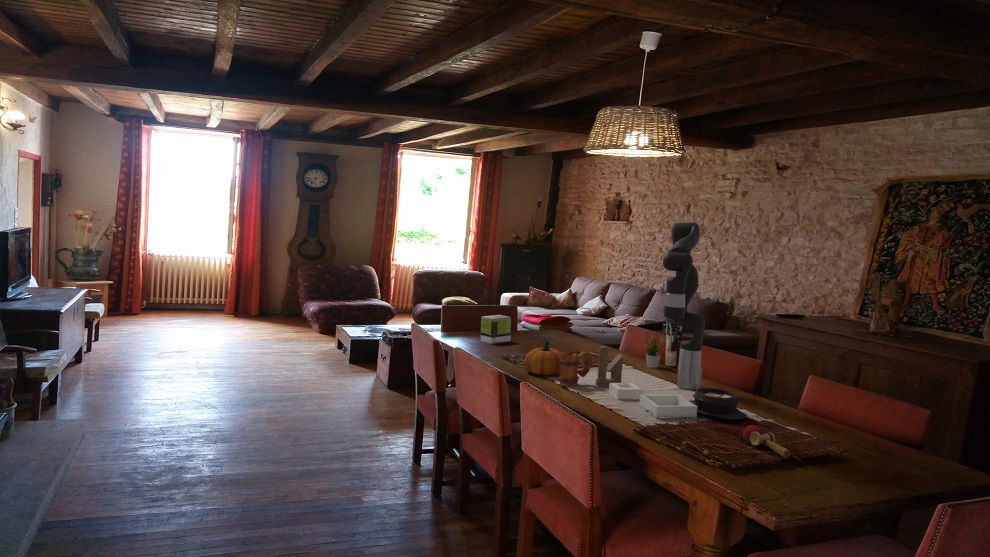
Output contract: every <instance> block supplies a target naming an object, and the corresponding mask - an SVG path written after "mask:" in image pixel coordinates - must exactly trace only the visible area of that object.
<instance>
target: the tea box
mask: <svg viewBox="0 0 990 557" xmlns="http://www.w3.org/2000/svg"><path fill="white" fill-rule="evenodd" d="M511 326H512V317H511V316H509V315H507V316H506V315H502V314H496V315H495V314H494V315H487V316H486V315H484V316H481V317H480V342H483V343H486V344H489V345H491V344H492V345H493V344H498V343H507V342H511V337H512V336H511V335H512V334H511V331H512V329H511V328H512V327H511Z"/></svg>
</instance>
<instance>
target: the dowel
mask: <svg viewBox="0 0 990 557" xmlns="http://www.w3.org/2000/svg"><path fill="white" fill-rule="evenodd" d="M665 342H666V343H665V349H666V350H665V357H664V358H665V359H664V365H665V366H669V367H675V366H676V365H677V355H678V350H677V351H676V352H673V351H671V343H672V336H671V335H667V341H666V340H665Z"/></svg>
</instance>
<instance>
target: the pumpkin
mask: <svg viewBox="0 0 990 557" xmlns="http://www.w3.org/2000/svg"><path fill="white" fill-rule="evenodd" d="M549 344H550V341H549V340H545V342H544V345H543V347H536V348H533V349H532V350H530V351H529V352H528V353H527V354H526V356H525V359H524V366H525V369H526V370H527V371H528V372H530V373H532V374H535V375H538V376H546V375H547V376H548V375H549V376H556V375H560V373H561V364H560V363H559V362H560V360H561V359H562V354H563V353H562V352H561V351H560V350H559V349H555V348H552V347H550V345H549Z"/></svg>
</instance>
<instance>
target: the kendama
mask: <svg viewBox="0 0 990 557" xmlns="http://www.w3.org/2000/svg"><path fill="white" fill-rule="evenodd" d="M742 432H743V433H742V435H743V438H744V439H745V441H746V442H748V441H749V442H751V443H750V444H751V445H752V446H757V447H759V446H760V445H761V444H763V446H765V445H767V446H769V447H768V448H769V449H771V450H772V451H774V452H775V453H777V454H778V455H779V454H780V456H781V457H782V456H783V457H787V456H788V458H790V456H791V450H789V449H788V448H786V447H783V446H781V445H780V444H778V443H776V436H775V434H774V433H773V432H770V431H766V432H764V433H763V432H762V429H761V428H760V427H759V426H757V425H754V424H750V425H747V426H746V427H744V429H743V431H742ZM749 442H748V443H749ZM783 457H782V458H783Z"/></svg>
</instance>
